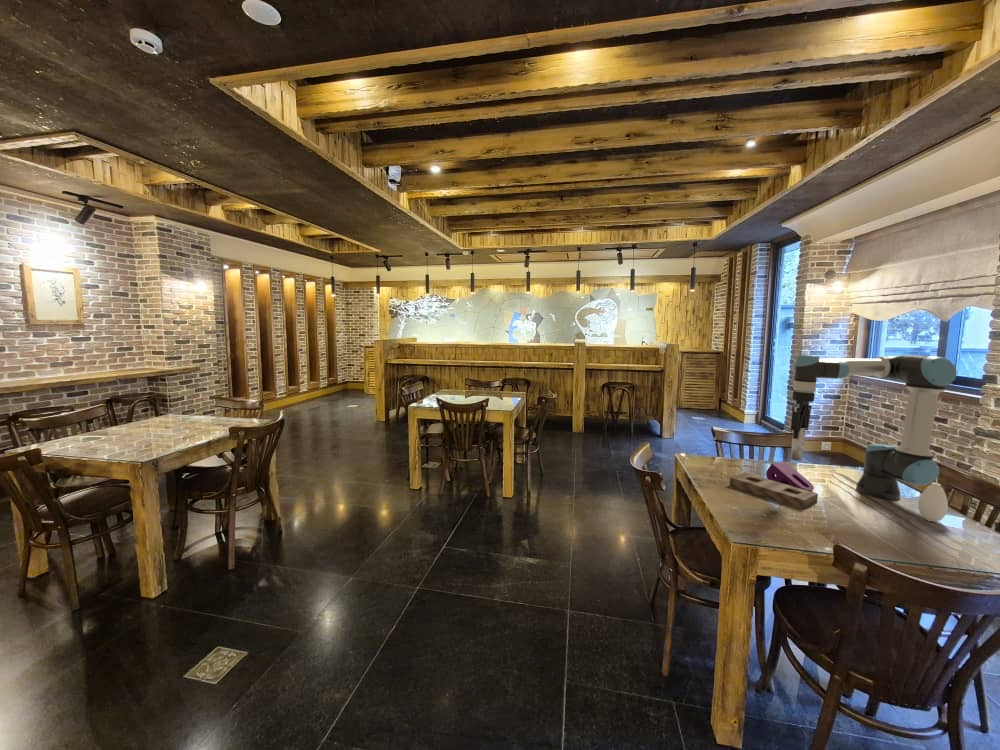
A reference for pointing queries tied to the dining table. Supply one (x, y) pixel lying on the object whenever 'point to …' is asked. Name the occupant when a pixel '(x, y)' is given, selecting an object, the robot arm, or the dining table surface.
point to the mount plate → (774, 490)
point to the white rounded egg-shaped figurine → (933, 503)
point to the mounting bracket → (788, 476)
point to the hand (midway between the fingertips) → (797, 445)
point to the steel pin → (798, 451)
